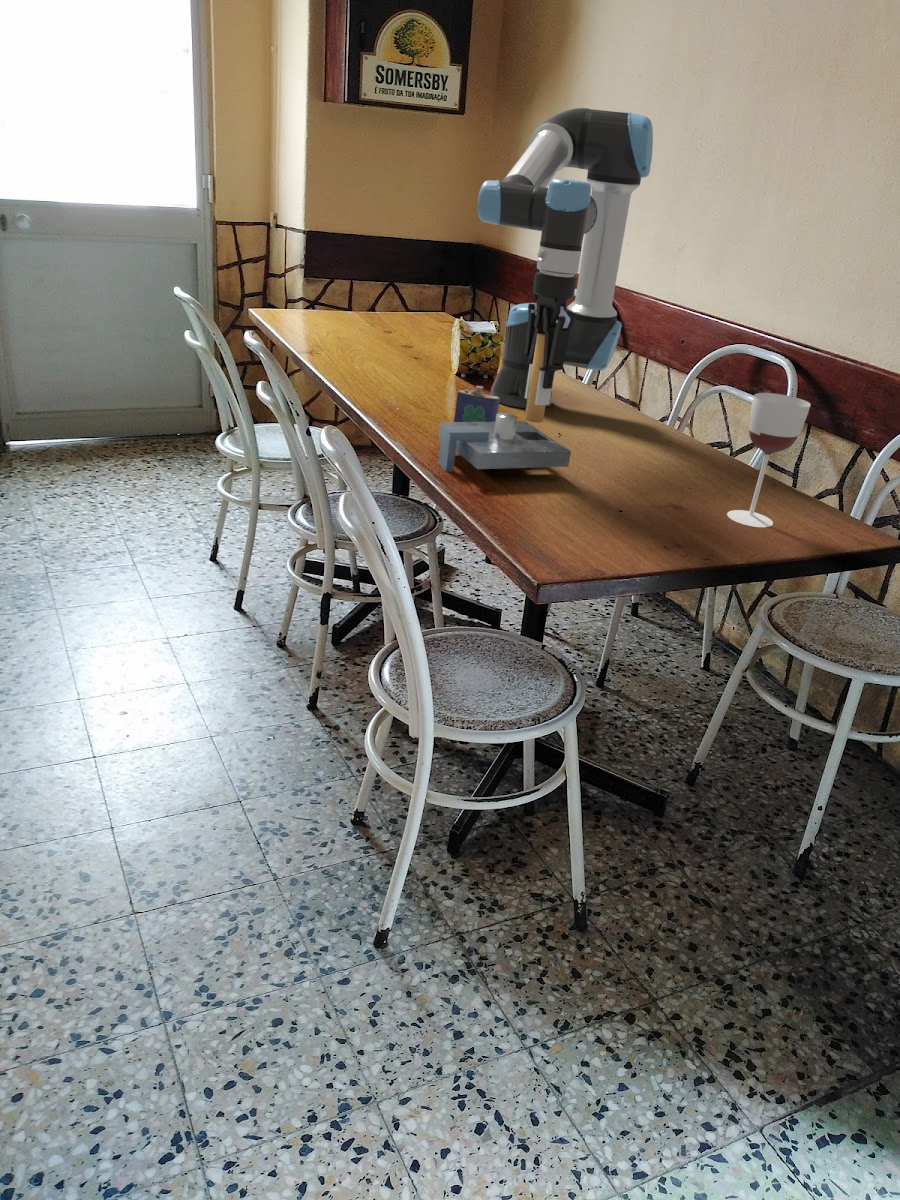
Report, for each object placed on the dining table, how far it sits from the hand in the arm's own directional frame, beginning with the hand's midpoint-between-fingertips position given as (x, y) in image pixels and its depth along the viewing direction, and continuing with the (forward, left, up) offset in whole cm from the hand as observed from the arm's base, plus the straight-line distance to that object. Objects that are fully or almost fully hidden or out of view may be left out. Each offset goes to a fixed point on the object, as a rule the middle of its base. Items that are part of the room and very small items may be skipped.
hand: (536, 401), depth 177 cm
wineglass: (-30, +31, -13) cm, 45 cm away
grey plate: (+7, 0, -13) cm, 15 cm away
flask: (+3, -20, -13) cm, 24 cm away
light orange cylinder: (0, 0, -4) cm, 4 cm away
